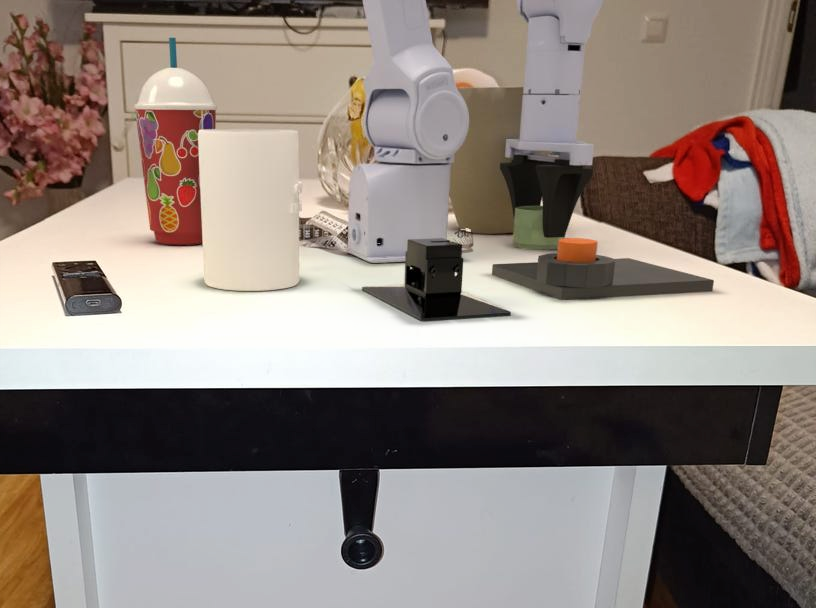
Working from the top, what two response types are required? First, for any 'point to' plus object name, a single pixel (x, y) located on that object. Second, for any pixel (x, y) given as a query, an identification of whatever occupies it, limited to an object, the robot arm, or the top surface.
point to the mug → (250, 208)
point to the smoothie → (173, 150)
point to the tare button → (577, 250)
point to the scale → (599, 278)
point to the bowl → (531, 229)
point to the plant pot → (486, 160)
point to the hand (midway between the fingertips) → (539, 233)
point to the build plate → (434, 285)
